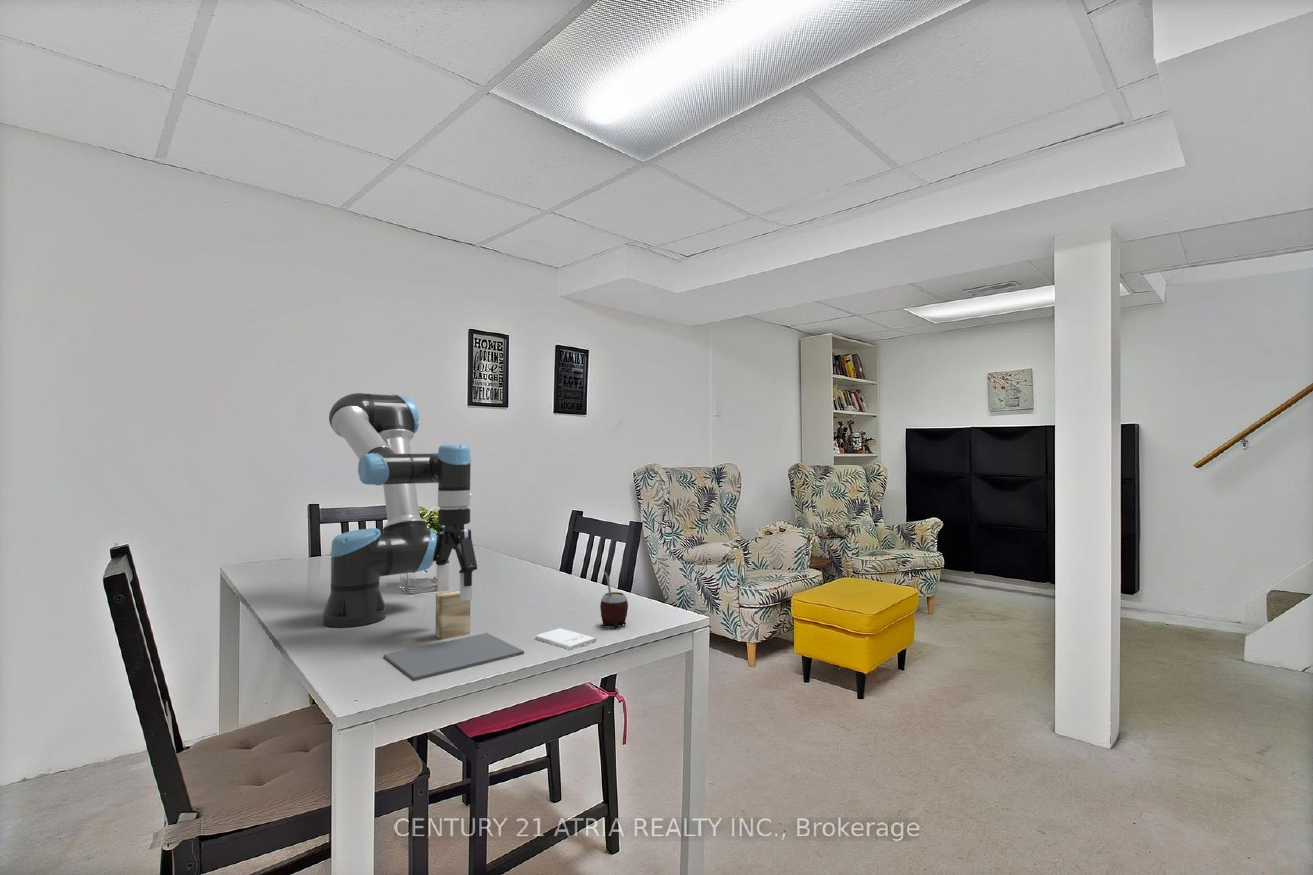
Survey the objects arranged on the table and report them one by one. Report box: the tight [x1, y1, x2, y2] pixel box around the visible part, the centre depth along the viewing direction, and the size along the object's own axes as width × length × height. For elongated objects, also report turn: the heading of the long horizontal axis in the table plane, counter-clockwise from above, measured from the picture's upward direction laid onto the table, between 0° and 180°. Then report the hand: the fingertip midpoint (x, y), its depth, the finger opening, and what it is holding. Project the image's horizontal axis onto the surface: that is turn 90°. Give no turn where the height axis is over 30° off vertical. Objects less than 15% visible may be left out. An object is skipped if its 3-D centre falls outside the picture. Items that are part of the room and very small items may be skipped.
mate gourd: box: [599, 570, 629, 629], centre depth 156 cm, size 8×8×15 cm
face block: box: [434, 590, 471, 640], centre depth 148 cm, size 4×7×10 cm, turn 132°
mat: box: [383, 632, 525, 681], centre depth 133 cm, size 18×24×1 cm
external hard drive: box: [535, 627, 597, 651], centre depth 144 cm, size 2×8×12 cm
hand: (454, 595), depth 148 cm, fingers open, 13 cm apart
